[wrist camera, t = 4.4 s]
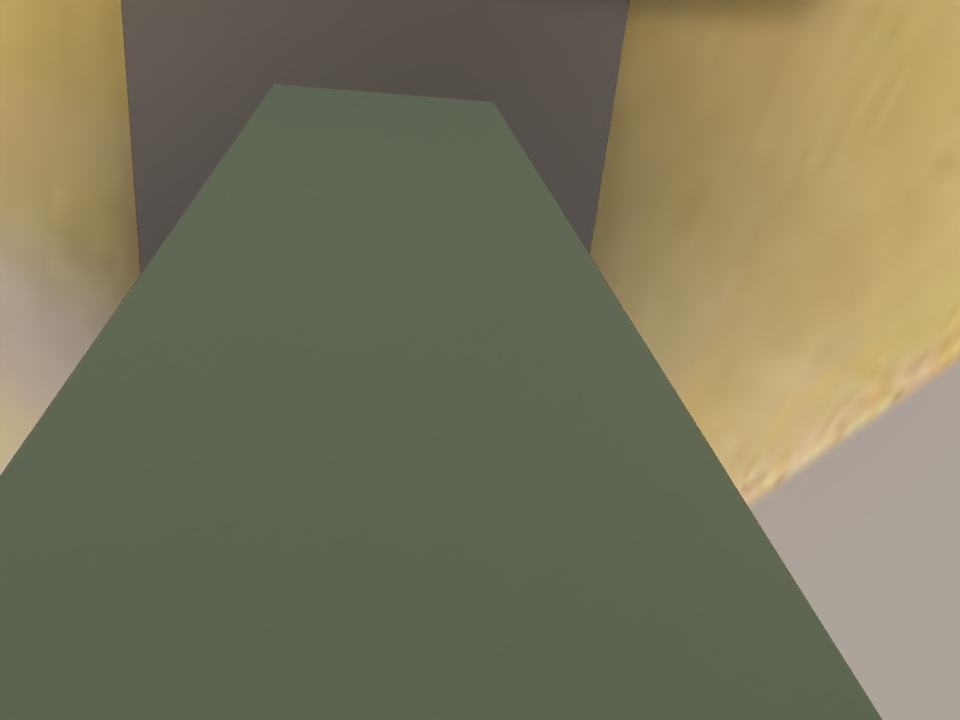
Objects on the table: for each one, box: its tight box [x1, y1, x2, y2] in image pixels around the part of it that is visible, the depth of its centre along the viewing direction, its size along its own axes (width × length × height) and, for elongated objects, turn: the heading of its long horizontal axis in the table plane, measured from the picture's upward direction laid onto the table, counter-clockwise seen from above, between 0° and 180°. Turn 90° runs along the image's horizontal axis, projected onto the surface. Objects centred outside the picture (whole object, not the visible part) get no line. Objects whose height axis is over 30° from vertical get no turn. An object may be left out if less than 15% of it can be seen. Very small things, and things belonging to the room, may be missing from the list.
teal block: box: [0, 84, 882, 720], centre depth 8 cm, size 2×7×9 cm, turn 174°
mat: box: [121, 0, 629, 274], centre depth 20 cm, size 10×9×1 cm
